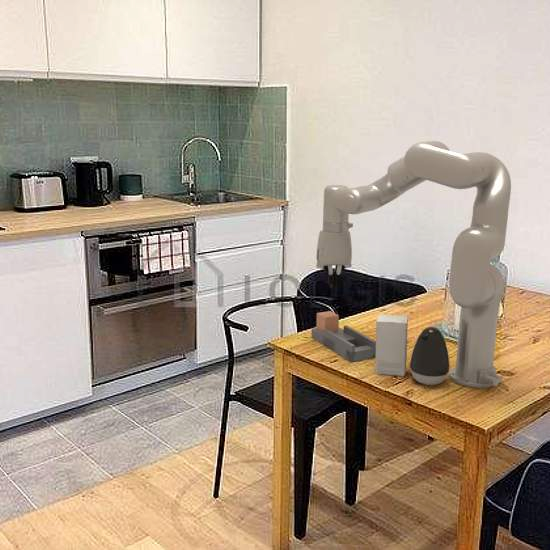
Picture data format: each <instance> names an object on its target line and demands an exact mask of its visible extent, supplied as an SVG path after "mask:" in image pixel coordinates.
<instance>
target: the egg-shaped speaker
mask: <svg viewBox="0 0 550 550" xmlns="http://www.w3.org/2000/svg"><path fill="white" fill-rule="evenodd" d="M449 356H450V355H449V349H448V347H447V343H446V339H445V336H444V335H443V333H442V331H441V330H440V329H439V328H437V327H435V326H428V327H425V328H424V329H423V330H422V331H421V332H420V333H419V335H418V337H417V339H416V341H415V344H414V346H413V349H412V352H411V357H410V361H409V369H410V371H411V374H412V375H411V376H412V377H413V378H414V379H415V381H417V382H418V383H419V384H422V385H426V386H435V385H440V384H441V383H442V382H444V381H445V379H446V378H447V376H448V374H449V371H450V357H449Z"/></svg>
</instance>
